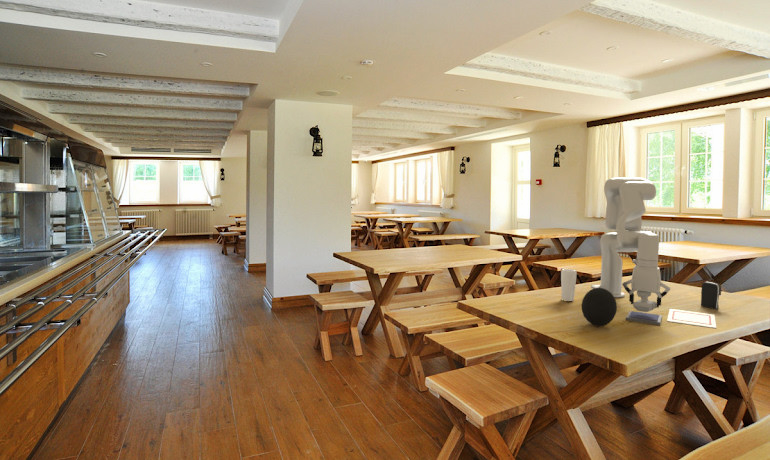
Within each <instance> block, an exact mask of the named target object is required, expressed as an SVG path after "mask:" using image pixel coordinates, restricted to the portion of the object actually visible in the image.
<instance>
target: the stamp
mask: <svg viewBox="0 0 770 460" xmlns="http://www.w3.org/2000/svg"><path fill="white" fill-rule="evenodd" d="M636 295H637V296H638V297H639V298H640V300H636V301H634V303H633V304H632V306H633V308H634V309H636V311H637V312H642V313H649V312H650V311H651V312H652V311H653V310H655V309H658V308H657V307H656V306H657V301H654V300H648V299H649V297H650V296H652V293H651V292H642V291H636Z"/></svg>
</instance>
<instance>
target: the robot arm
mask: <svg viewBox="0 0 770 460" xmlns="http://www.w3.org/2000/svg"><path fill="white" fill-rule="evenodd" d="M603 192H604V196H605V199H606V207H605V227H606V229H607V230H611V231H615V232H605V233H604V234H602V235H601V237H600V241H599V242H600V249H601V267H600V268H601V270H600V284H598V285H596V284H591V286H590V288H591V289H594V288H604V289H606V290H608V291H609V292H610V293H611V294H612V295H613V296H614V298H624V297H625V293H624V292H622V287H623V289H625V291H626V292H627V293H628V294H629V301H628V302H629V303H630V305H633V303H634V302H635V294H634V292H637V291H642V292H651V294H652V293H655V295H656V296H657V297H656V303H657V305H656V307H657V308H656V309H659V307H660V306H662V298H663V297H665V296H666V295H667V294H669V291H671V287H670V286H668V285H667V284H665V283H663V282H662V281H661V280H662V279H661V277H662V276H661V269H660V267H659V264H658V263H659V249H660V247H659V246H660V235H658V234H657V233H653V232H652V231H644V230H642V226H643V225H642V224H643V222H642V221H643V219H642V216H644V215H645V214H646V206H645V202H644V201H651V200H654V199H655V197H656V195H657V189H656V185H655V184H654V182H652V181H651V180H648V179H646V178H644V177H611V178H608V179H607V180H605V182H604V186H603ZM634 252H635V253H636V258H635V259H632V264H635V265H634V266H633V268H632V269H633V270H632V272H631V273H632V274H631V279H629V280H627V281H622V280H623V263H624V261H623V258H622V257H621V256H620V254H619V253H634ZM630 284H631V285H630ZM628 285H630V286H631V288H629V287H628ZM661 287H662V288H663V289H664V291H663V292H661Z"/></svg>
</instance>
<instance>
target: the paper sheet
mask: <svg viewBox="0 0 770 460" xmlns="http://www.w3.org/2000/svg"><path fill="white" fill-rule="evenodd" d="M666 319H667V320H666V322H668V323H675V324H682V325H683V324H684V325H688V326H689V325H690V326H696V327H704V328H710V329H717V324H716V316H715V314H712V313H707V312H704V313H703V312H697V311H692V310H691V311H689V310H682V309H675V308H669V310H668V315H667V318H666Z"/></svg>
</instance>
